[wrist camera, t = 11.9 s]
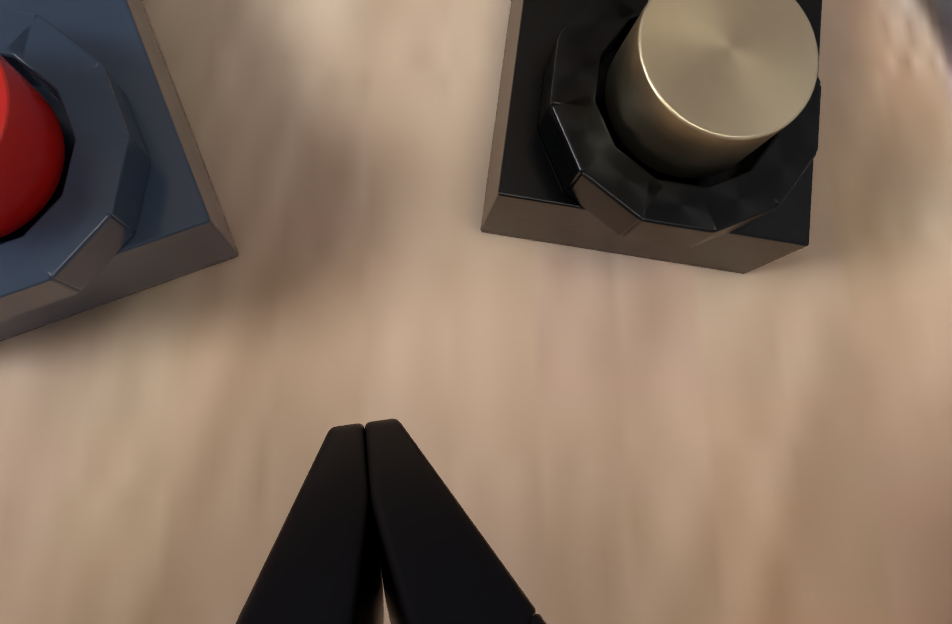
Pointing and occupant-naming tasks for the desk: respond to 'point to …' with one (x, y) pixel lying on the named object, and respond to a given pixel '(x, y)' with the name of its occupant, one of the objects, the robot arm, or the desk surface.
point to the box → (105, 166)
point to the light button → (709, 81)
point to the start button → (26, 150)
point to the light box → (628, 156)
